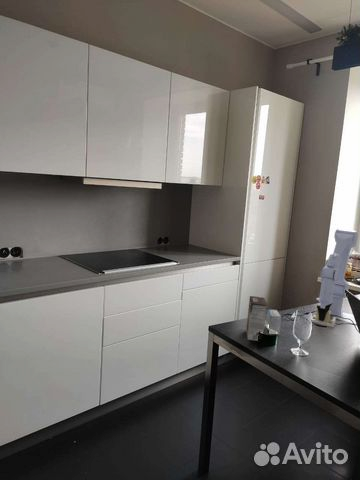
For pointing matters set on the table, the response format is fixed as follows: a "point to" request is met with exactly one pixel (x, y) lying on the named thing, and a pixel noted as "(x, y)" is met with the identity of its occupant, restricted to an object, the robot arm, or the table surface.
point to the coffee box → (256, 317)
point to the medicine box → (274, 320)
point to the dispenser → (324, 322)
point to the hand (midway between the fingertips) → (322, 318)
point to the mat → (294, 315)
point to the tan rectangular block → (325, 317)
